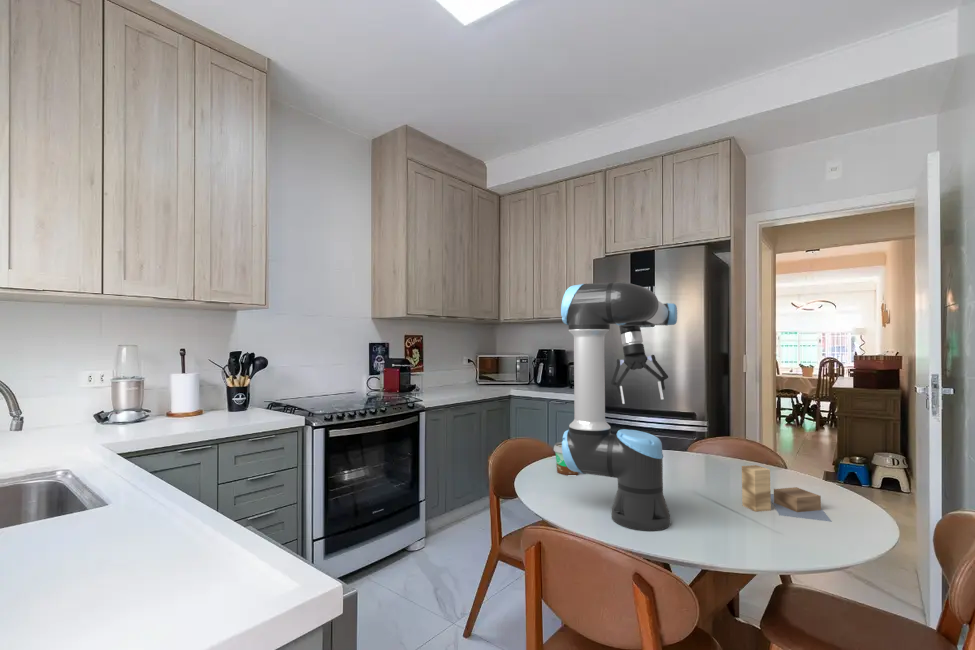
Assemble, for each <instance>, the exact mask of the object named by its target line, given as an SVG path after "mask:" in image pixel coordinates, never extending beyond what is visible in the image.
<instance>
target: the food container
mask: <svg viewBox="0 0 975 650" xmlns="http://www.w3.org/2000/svg"><path fill="white" fill-rule="evenodd" d="M553 451H554V452H555V453H554V454H555V462H556V463H555V464H556V472H557V474H559V475H562V476H568V475H576V476H578V475H579V472H574V471H571V470H570V469H569V468H568V467H567V465H566V464H565V462H564V458H563V453H562V441H560V442H559V441H558V442H556V443H554V446H553Z"/></svg>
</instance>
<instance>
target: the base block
mask: <svg viewBox="0 0 975 650" xmlns="http://www.w3.org/2000/svg"><path fill="white" fill-rule="evenodd" d="M773 494H774V503H776V504H778V505H781V506H783V507H786V508H788V509H790V510H793V511H795V512H806V511H817V510H821V509H822V501H821V500H822V499H821V495H819V494H816V493H813V492H811V491H808V490H805V489H803V488H799V487H795V486H794V487H784V488H783V487H782V488H781V487H780V488H773Z"/></svg>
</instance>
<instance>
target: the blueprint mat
mask: <svg viewBox="0 0 975 650" xmlns="http://www.w3.org/2000/svg"><path fill="white" fill-rule="evenodd" d="M771 504H772V505H773V507H774V508H775V510H776V512H777V514H778V516H782V517H791V518H796V519H797V518H799V519H806V520H813V521H814V520H816V521H823V522H829V523H830V522H833V520H831V518H830V517H829V516H828V515H827V513H825V511H824V509H822V508H821V510H817V511H806V512H795V511H793V510H790V509H788V508H786V507H783V506H781V505H778V504H776V503H774V493H771Z"/></svg>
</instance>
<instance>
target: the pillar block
mask: <svg viewBox="0 0 975 650" xmlns="http://www.w3.org/2000/svg"><path fill="white" fill-rule="evenodd" d="M741 492H742V493H741V500H742V503H741V504H742V507H744V508H746V509H749V510H751V511H753V512H755V513H757V512H768V511H772V505H771V504H772V501H771V494H772V493H771V469H770V468H766V467H763V466H760V465H757V464H753V465H751V464H750V465H741Z"/></svg>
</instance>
